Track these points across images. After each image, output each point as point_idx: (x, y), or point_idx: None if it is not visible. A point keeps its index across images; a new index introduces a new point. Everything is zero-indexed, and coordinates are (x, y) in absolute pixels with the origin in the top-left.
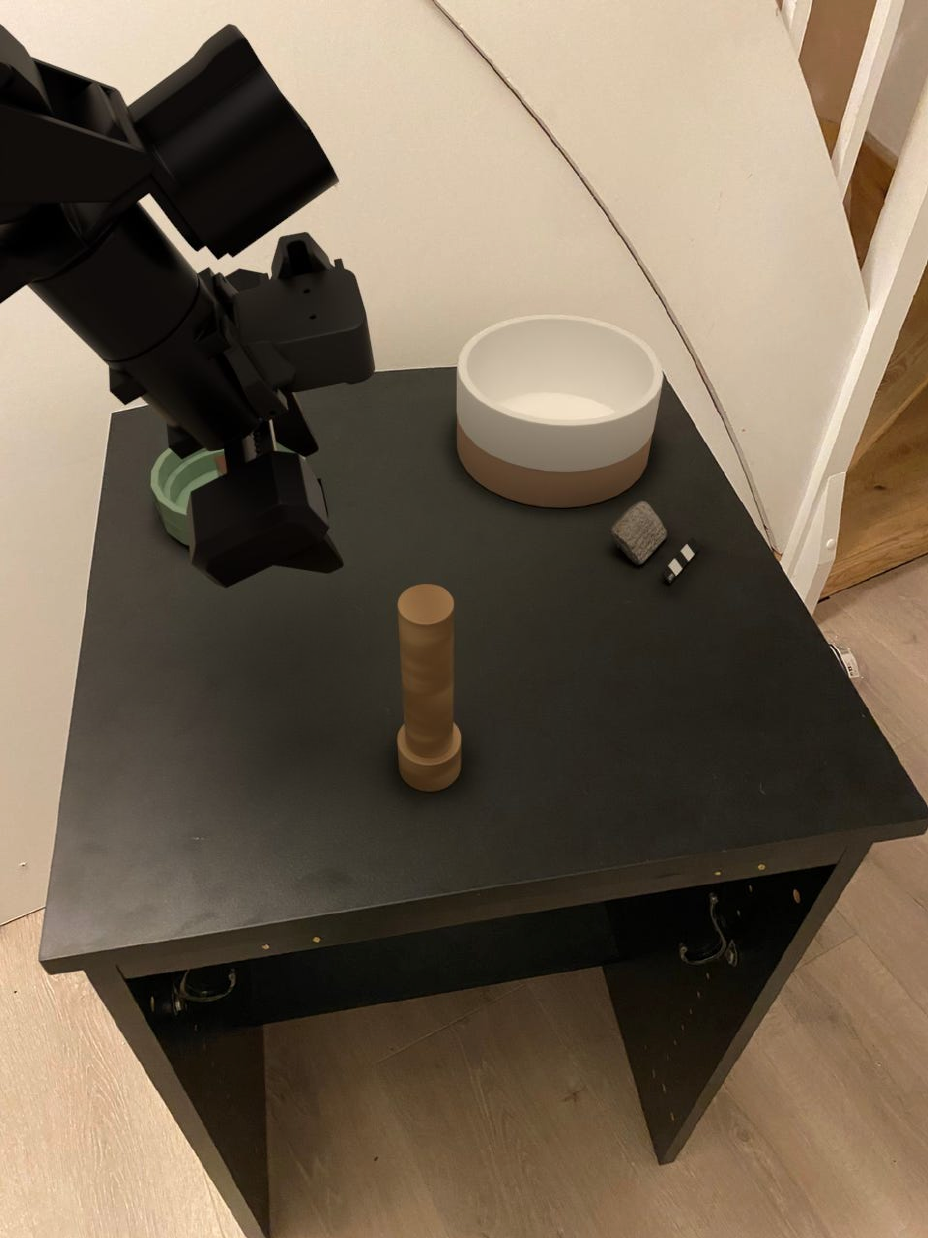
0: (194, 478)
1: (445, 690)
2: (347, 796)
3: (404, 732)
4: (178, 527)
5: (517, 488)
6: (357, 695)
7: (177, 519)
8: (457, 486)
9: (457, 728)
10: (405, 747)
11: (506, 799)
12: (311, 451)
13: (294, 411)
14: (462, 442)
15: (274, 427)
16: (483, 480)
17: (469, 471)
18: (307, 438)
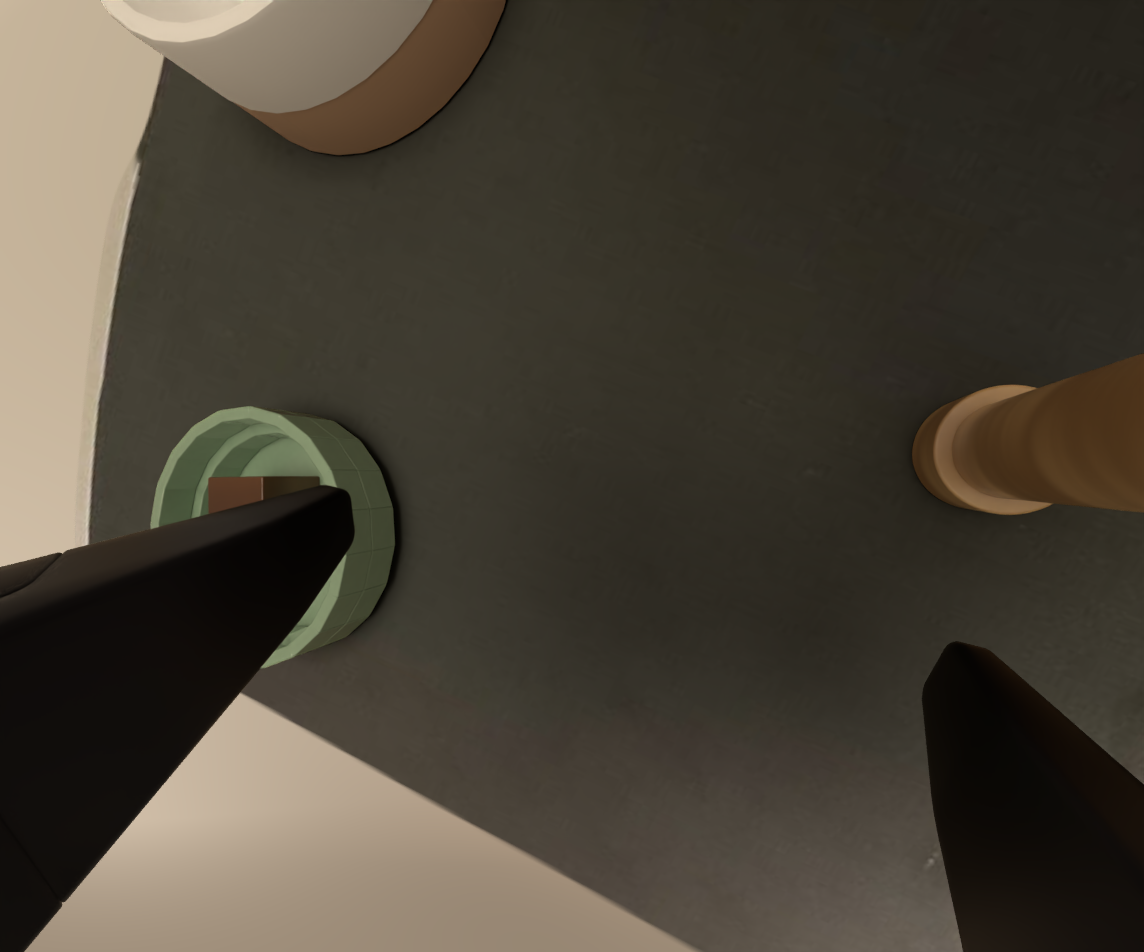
0: None
1: None
2: (968, 610)
3: (966, 489)
4: (321, 645)
5: (442, 70)
6: (755, 507)
7: (309, 649)
8: (389, 180)
9: (1010, 386)
10: (1008, 502)
11: (1130, 352)
12: (345, 517)
13: (149, 599)
14: (313, 129)
15: (208, 677)
16: (397, 128)
17: (368, 147)
18: (298, 535)
